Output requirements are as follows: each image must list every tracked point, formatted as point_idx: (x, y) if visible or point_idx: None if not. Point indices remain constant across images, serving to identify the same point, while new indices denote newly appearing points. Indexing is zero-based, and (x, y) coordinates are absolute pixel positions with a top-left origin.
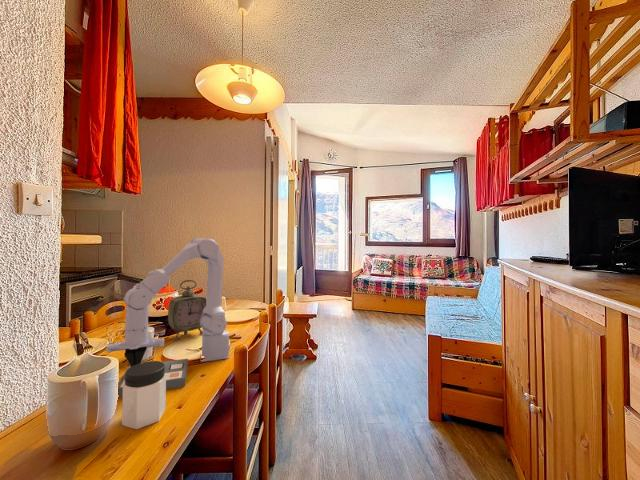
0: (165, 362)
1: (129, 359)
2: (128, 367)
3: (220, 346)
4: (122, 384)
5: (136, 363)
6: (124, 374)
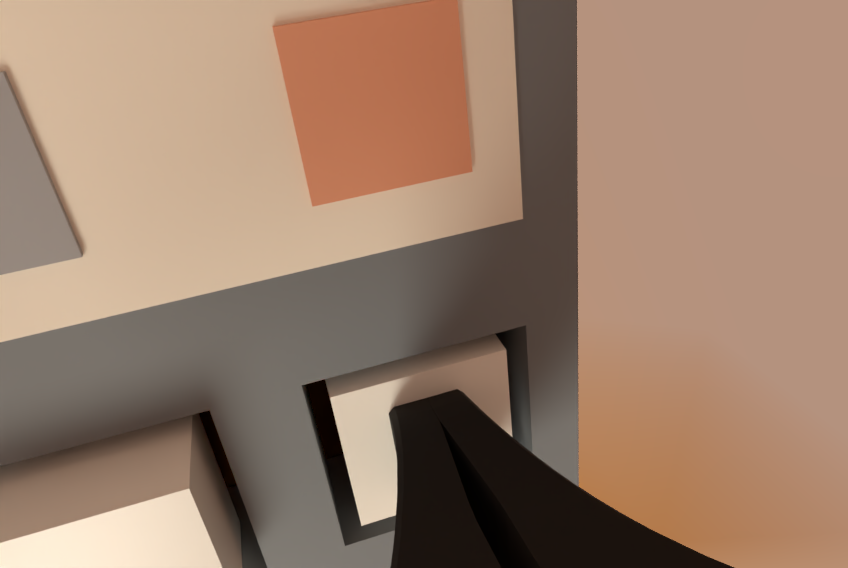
0: None
1: (648, 561)
2: None
3: None
4: (495, 10)
5: (459, 520)
6: (569, 376)
